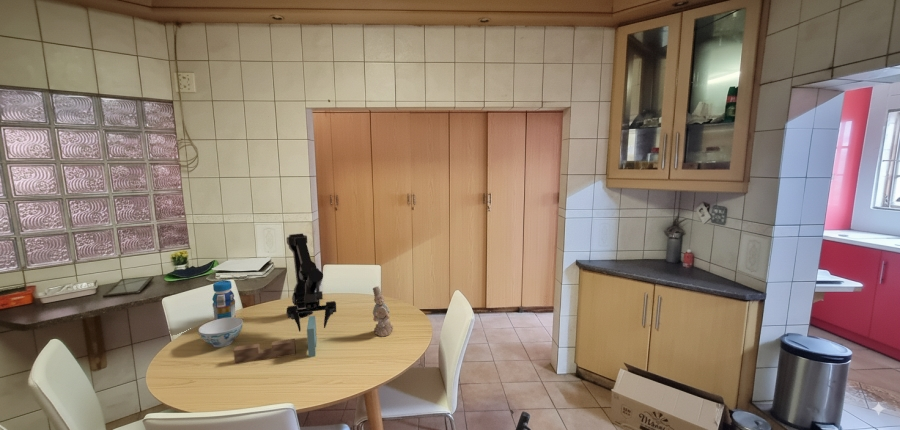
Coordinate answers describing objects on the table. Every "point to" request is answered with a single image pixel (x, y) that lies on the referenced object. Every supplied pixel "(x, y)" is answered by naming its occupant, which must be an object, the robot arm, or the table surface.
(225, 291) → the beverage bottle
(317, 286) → the robot arm
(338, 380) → the table surface
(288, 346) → the walnut slotted rail
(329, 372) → the table surface
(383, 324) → the figurine
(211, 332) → the chinaware
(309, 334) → the teal slotted plate
